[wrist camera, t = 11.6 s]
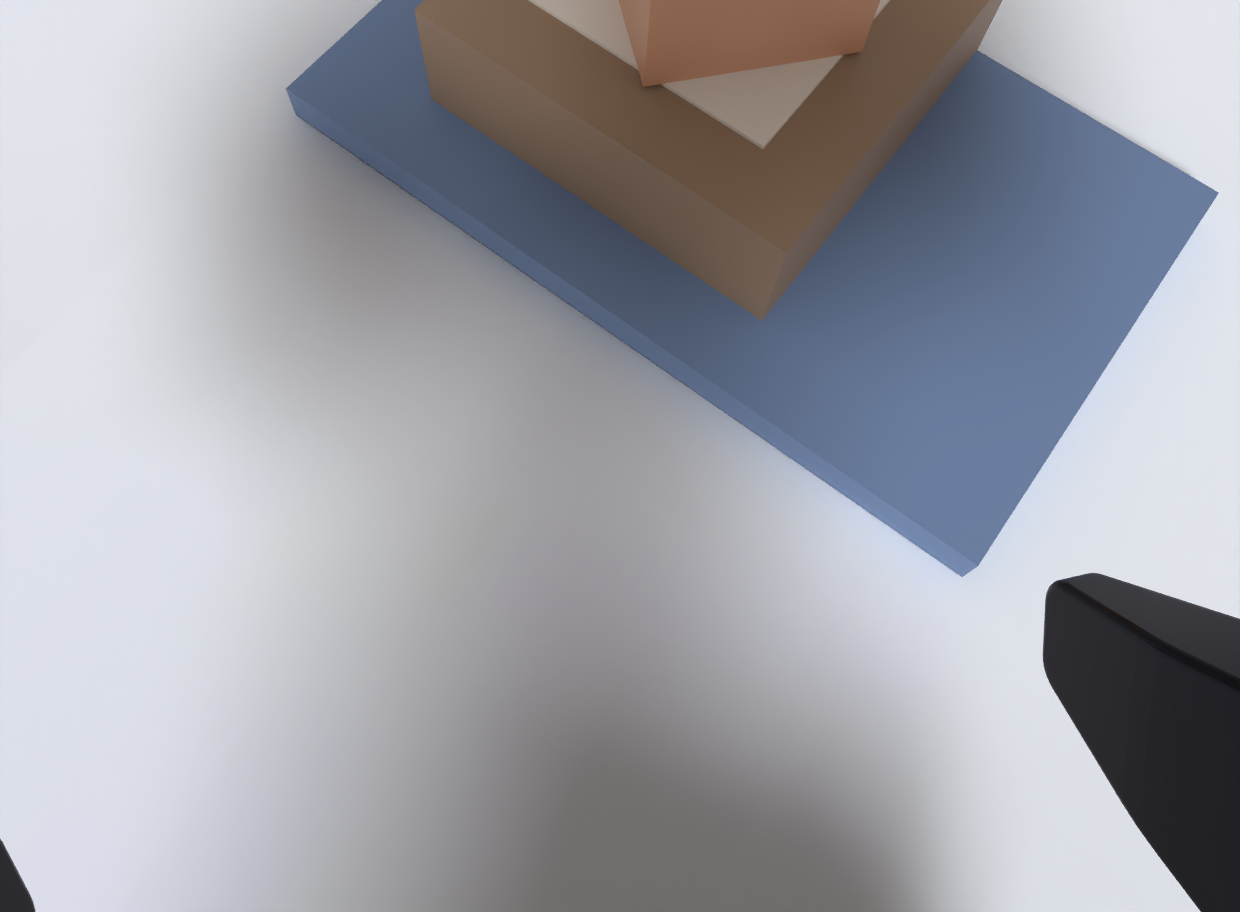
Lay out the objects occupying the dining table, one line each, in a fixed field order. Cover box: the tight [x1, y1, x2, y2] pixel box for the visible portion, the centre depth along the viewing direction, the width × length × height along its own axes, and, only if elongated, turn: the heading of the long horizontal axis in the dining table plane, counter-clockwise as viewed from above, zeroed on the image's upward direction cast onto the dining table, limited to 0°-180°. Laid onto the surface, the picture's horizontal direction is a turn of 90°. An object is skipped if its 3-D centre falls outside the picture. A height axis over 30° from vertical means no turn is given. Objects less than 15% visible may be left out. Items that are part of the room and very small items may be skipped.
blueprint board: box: [286, 0, 1218, 577], centre depth 25 cm, size 20×12×4 cm, turn 53°
